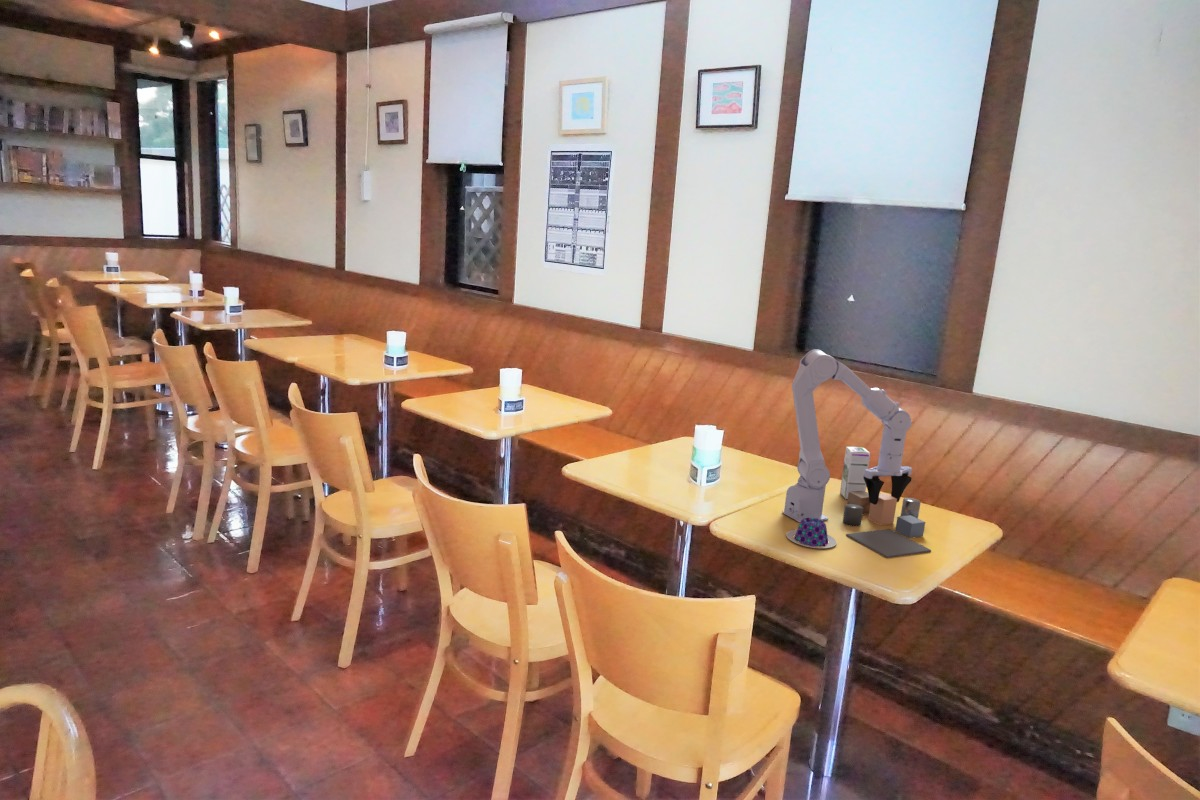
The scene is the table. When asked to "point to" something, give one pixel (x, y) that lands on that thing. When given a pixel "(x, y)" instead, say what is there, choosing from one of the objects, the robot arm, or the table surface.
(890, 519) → the terracotta block
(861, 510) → the charcoal cylinder
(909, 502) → the dark steel can
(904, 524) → the slate blue block
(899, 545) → the charcoal mat
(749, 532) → the table surface
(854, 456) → the syrup box
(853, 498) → the walnut block
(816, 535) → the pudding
